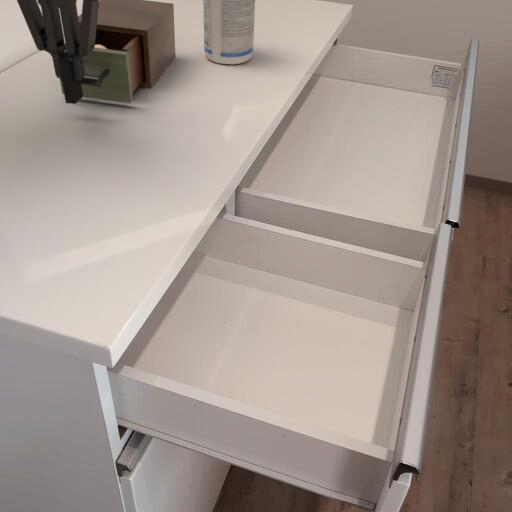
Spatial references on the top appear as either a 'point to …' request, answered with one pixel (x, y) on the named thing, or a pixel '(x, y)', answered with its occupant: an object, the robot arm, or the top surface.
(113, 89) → the drawer
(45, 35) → the robot arm
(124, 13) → the cabinet
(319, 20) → the top surface
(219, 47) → the supplement tub
